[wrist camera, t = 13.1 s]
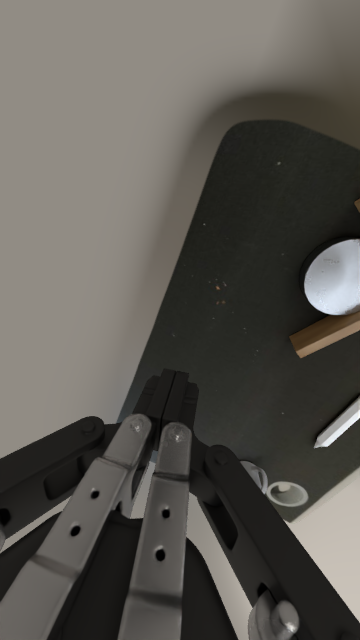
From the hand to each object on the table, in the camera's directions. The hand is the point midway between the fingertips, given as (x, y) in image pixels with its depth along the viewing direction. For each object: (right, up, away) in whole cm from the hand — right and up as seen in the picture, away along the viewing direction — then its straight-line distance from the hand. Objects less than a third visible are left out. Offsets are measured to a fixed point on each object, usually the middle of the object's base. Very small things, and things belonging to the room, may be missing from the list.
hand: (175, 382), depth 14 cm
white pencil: (+32, -17, +34) cm, 50 cm away
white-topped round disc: (+24, +11, +23) cm, 35 cm away
